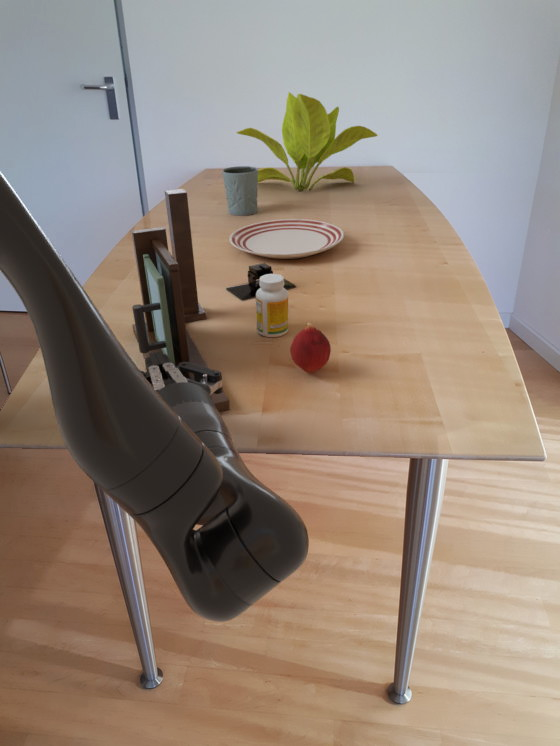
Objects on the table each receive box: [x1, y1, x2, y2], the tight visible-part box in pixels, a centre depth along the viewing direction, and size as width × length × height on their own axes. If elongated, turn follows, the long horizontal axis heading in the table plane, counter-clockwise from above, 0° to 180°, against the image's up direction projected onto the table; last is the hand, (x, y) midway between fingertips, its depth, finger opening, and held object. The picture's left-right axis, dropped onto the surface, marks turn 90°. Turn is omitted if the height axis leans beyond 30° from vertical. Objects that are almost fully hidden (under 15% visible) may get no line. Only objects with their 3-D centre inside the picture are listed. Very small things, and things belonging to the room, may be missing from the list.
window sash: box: [131, 254, 175, 366], centre depth 80 cm, size 4×11×14 cm, turn 22°
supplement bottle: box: [255, 273, 289, 338], centre depth 91 cm, size 5×5×10 cm
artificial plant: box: [236, 91, 378, 192], centre depth 181 cm, size 42×43×30 cm
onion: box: [289, 322, 332, 374], centre depth 79 cm, size 6×6×8 cm
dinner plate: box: [229, 218, 345, 260], centre depth 131 cm, size 27×27×3 cm
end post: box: [164, 188, 207, 324], centre depth 93 cm, size 5×5×22 cm
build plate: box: [225, 262, 297, 301], centre depth 109 cm, size 12×7×5 cm, turn 121°
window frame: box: [130, 226, 231, 413], centre depth 79 cm, size 8×29×18 cm, turn 22°
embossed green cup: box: [221, 165, 259, 217], centre depth 158 cm, size 10×10×12 cm
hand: (154, 358), depth 69 cm, fingers closed
